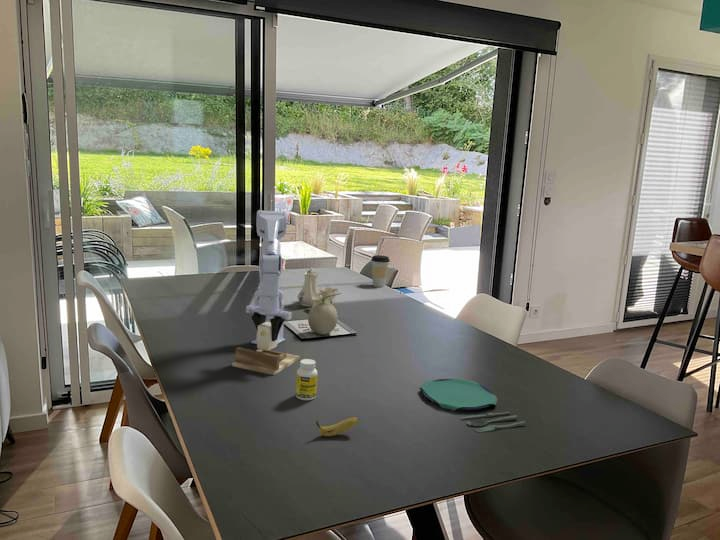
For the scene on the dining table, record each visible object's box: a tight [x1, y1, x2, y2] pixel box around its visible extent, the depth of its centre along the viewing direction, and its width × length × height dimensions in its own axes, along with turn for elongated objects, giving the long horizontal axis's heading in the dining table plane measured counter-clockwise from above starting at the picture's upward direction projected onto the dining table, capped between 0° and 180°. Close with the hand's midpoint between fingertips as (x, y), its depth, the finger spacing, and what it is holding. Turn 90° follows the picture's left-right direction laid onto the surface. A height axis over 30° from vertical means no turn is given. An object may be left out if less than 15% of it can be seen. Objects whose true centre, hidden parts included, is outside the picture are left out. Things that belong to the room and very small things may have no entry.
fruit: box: [307, 292, 342, 336], centre depth 209 cm, size 10×12×15 cm
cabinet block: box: [256, 322, 278, 350], centre depth 176 cm, size 6×4×7 cm
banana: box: [315, 416, 359, 437], centre depth 134 cm, size 10×2×4 cm, turn 109°
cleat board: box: [231, 347, 301, 376], centre depth 178 cm, size 16×14×5 cm
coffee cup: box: [371, 254, 391, 288], centre depth 297 cm, size 9×9×15 cm
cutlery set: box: [419, 377, 527, 434], centre depth 156 cm, size 20×30×2 cm, turn 21°
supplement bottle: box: [295, 358, 318, 401], centre depth 154 cm, size 5×5×10 cm
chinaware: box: [297, 267, 339, 308], centre depth 251 cm, size 28×17×17 cm, turn 179°
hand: (267, 338), depth 177 cm, fingers closed on cabinet block, 4 cm apart
